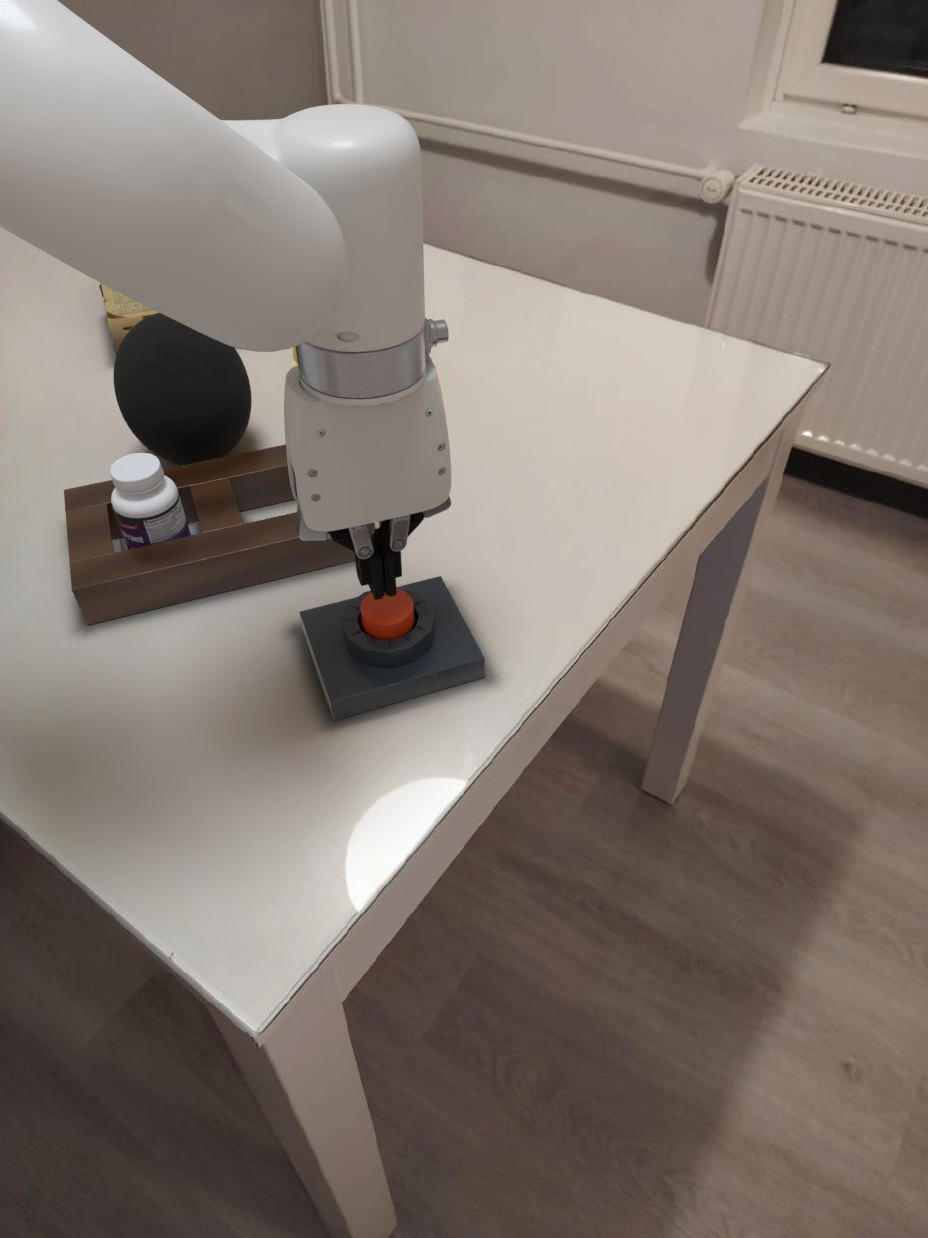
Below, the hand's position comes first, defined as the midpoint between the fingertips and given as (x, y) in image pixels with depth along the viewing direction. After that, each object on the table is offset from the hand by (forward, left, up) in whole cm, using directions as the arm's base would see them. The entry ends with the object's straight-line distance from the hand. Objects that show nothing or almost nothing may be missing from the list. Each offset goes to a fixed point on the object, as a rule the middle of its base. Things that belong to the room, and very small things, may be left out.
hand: (380, 585), depth 63 cm
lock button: (0, 0, -4) cm, 4 cm away
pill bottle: (-15, +19, -8) cm, 25 cm away
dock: (-10, +19, -8) cm, 23 cm away
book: (-8, +68, -8) cm, 69 cm away
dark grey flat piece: (0, 0, -8) cm, 8 cm away
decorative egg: (-10, +33, -8) cm, 35 cm away
